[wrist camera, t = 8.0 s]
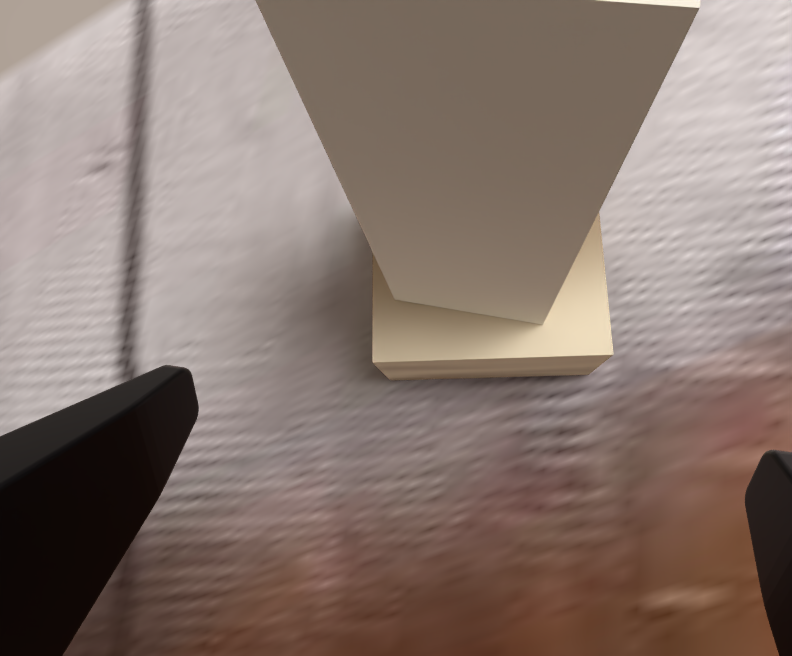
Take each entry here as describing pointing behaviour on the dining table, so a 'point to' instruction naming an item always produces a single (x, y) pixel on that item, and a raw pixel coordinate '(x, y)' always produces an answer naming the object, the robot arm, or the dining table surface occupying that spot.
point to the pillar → (478, 130)
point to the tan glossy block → (497, 331)
